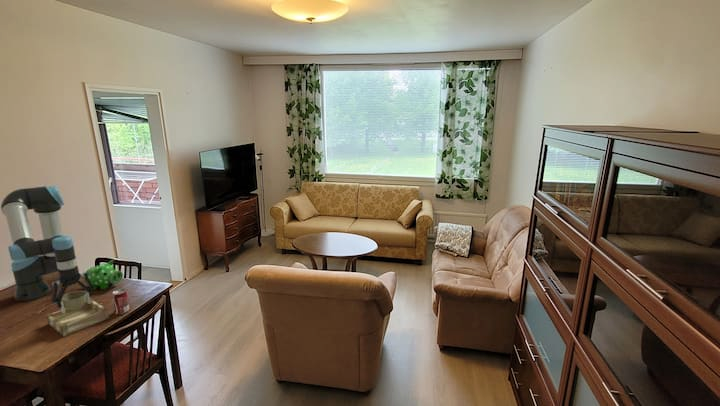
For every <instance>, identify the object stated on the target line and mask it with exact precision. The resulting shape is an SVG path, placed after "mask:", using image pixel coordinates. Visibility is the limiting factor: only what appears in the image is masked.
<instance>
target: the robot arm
mask: <svg viewBox="0 0 720 406" xmlns="http://www.w3.org/2000/svg"><path fill="white" fill-rule="evenodd" d="M64 204H65V203H64V199H63V197H62V195H61V192H60V189H59V188H58V187H57V186H55V185H45V186H36V187H27V188H18V189H16V190H13V191H11V192H10V193H8V194H7V195H6V196H5V197H4V199H3V200H2V201H1V204H0V209H1V210H0V211H1V213H2V214H3V215H4V216H5V218H6V222H7V225H8V230H9V234H10V238H11V240H12V241H11V242H12V245H8V252H9V256H10V260H12V263H11V272H12V274H13V277H14V282H15V291H14V299H15V301H17V302H26V301H32V300H36V299H40V298H42V297H45V296H47V294H49V293H51V296H50V297H51V298H50V302H51V303H56V306H57V307H58V309H60V310H61V312H62V313H63V314H64V313H65V308H66V307H65V305H64V304H63V301H62V300H61V299H62V297H63V296H64V295H65V293H66V290H67V289H68V287H70V286H72V285H76V284H77V285H79V286H80V287H81V288H82V289H83V290H84V289H85V290H84V291H85V292H86V300H85V301H87V303H88V304H91V302H90V298H91V297H92V290H95V289H94V288H95V287H94V286H93V284H92V283H91V281H90V280H89V278H88V274H87V273H86V271H83V272H82V273H80V271H79V270H80V269H79V266H78V261H77V257H76V253H75V246H74V241H73V238H72V236H68V235H64V234H63V229H62V228H63V227H62V224H61V219H60V218H61V217H60V212H59V211H60V210H62V206H64ZM29 210H33V212H34V213H36V214H38V219H39V223H40V228H41V229H40V230H41V233H42V238H43V239H40V240H35V238H34V234H33V231H32V227H31V225H30V221H29V219H28V215H27V212H28V211H29ZM55 273H57V274H58V276H59V279H58V280H56V281H52V283H51V285H52V288H51V287H50V286H49V284H48V283H47V282H46V280H45V279H44V276H47V275H50V274H51V275H52V274H55ZM81 277H82V278H83V279H85V280H84V282H85V281H86V282H87V284H88V285H89V286H88V285H87V284H86V285H87V286H86V285H85V284H84V283H83V282H82V281H80V278H81ZM86 282H85V283H86ZM60 284H61V287H60V289H59V285H60ZM51 289H52V291H51ZM58 290H59V291H58Z"/></svg>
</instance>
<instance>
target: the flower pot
mask: <svg viewBox="0 0 720 406" xmlns="http://www.w3.org/2000/svg"><path fill="white" fill-rule="evenodd" d="M85 291H86V290H76V291H72V292H71V291H70V292H67V293H66V294H64V295H63V297H62V299H61V300H62V301H63V304H64V308H68V309H69V310H71V311H75V310H78V309H81V308H82V307H83V305H84V303H85V301H86V292H85Z"/></svg>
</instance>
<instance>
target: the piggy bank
mask: <svg viewBox="0 0 720 406" xmlns="http://www.w3.org/2000/svg"><path fill="white" fill-rule="evenodd" d="M113 264H114V259H111V260H110V261H108V262H107V263H105V264H100V265H95V266H92V267H90V268H88V269H87V270H86V271H85V273H87V274H88V278H89V280H90V281H91V283H92V284H93V286H94V287H95V288H94V289H93V290H97V289H98V288H100V289H101V290H108V288H109V286H112V285H115V284H117V283H118V282H121V280H122V279H123V277H124V274H123V272H122V270H116V268H115V267H114V266H113ZM83 279H84V278H83ZM84 283H85V284H86V285H87V287H89V285H88V284H87V282H86V281H85V279H84Z"/></svg>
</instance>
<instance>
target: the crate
mask: <svg viewBox="0 0 720 406" xmlns="http://www.w3.org/2000/svg"><path fill="white" fill-rule="evenodd" d="M90 302H91V304H88V303H87V301H86V300H85V303H84V305H83V307H82V308H81V309H78V310H75V311H71V310H69V309H68V308H66V307H64V308H65V313H64V314H63V313H62V312H61V309H60V310H57V311H55V312H50V313H47V314H46V319H47V324H48V325H49V326H50V327H52V329H54V330H55V331H56V332H57V333H59V334H60V335H61V336H62V337H63V338H65V337H67V336H69V335H72V334H74V333H78V331H81V330H83V329H86V328H88V327H90V326H93V325H95V324H97V323H100V322H102V321H104V320H105V321H106V320H107V319H109V318H110V317H109V310H108V308H107V307H104V306H103V305H101V304H100V303H98V302H96V301H95V300H93V298H91V297H90Z"/></svg>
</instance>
